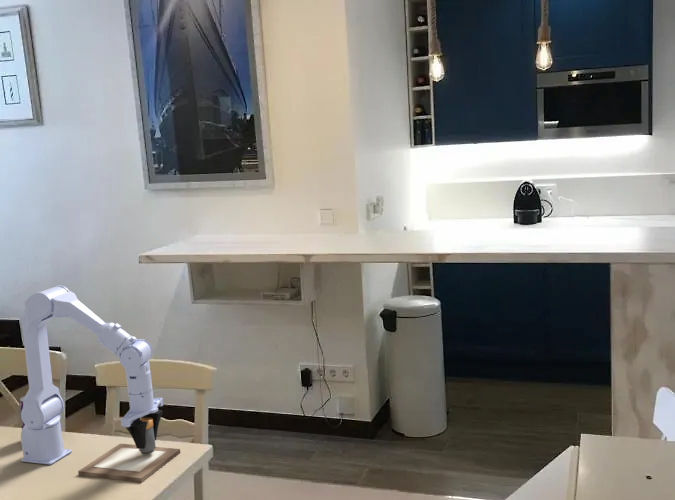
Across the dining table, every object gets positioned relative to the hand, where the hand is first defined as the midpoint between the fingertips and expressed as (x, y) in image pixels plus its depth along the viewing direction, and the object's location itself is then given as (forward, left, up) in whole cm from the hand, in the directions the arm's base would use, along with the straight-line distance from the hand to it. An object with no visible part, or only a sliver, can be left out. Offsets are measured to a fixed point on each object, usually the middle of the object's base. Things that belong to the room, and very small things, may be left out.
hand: (146, 444), depth 177 cm
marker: (0, 0, -2) cm, 2 cm away
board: (-3, -3, -4) cm, 6 cm away
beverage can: (-39, +5, -4) cm, 40 cm away
